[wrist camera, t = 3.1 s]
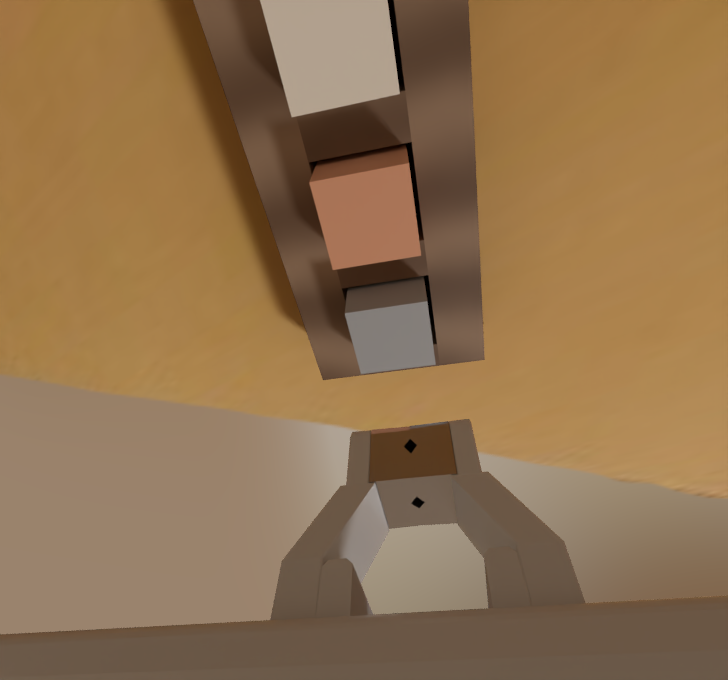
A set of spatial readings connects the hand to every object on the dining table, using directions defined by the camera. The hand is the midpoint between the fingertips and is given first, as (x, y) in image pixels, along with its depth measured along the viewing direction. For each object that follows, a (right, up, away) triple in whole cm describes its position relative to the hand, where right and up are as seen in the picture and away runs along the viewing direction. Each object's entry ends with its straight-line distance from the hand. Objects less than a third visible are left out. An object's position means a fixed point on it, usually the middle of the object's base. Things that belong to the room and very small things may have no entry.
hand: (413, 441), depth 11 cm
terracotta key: (-1, +12, +15) cm, 19 cm away
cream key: (-2, +18, +11) cm, 21 cm away
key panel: (-1, +13, +17) cm, 21 cm away
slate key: (+1, +5, +20) cm, 21 cm away
